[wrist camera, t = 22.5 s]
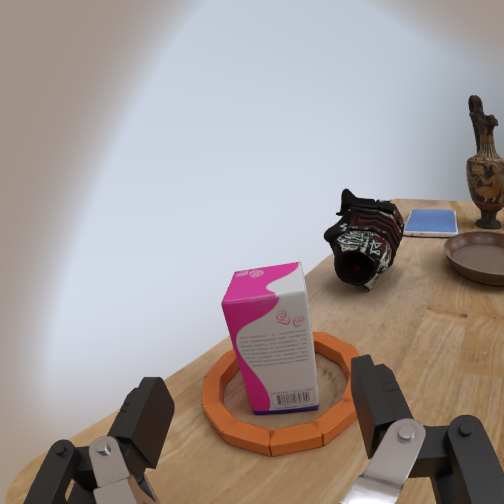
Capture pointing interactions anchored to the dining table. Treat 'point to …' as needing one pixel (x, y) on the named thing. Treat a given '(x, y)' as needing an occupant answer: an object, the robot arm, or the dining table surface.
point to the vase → (485, 168)
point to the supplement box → (273, 338)
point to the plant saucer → (478, 256)
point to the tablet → (431, 223)
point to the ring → (290, 436)
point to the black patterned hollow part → (364, 239)
